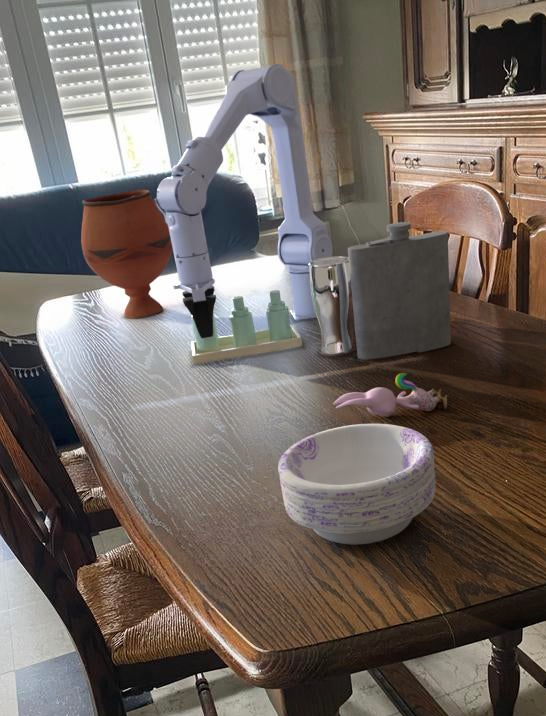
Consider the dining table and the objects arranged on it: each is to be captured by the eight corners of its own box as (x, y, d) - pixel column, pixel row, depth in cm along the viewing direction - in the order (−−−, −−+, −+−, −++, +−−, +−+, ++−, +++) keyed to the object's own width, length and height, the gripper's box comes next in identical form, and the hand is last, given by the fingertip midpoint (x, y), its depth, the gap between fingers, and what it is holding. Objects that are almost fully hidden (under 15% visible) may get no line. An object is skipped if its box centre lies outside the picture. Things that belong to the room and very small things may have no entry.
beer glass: (330, 361, 123) (320, 267, 115) (311, 352, 128) (300, 262, 121) (366, 350, 125) (359, 258, 118) (345, 342, 131) (337, 254, 123)
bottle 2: (290, 337, 136) (284, 287, 132) (294, 343, 133) (287, 292, 129) (269, 340, 136) (261, 290, 132) (271, 346, 133) (264, 295, 128)
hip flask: (446, 339, 125) (442, 213, 115) (455, 346, 122) (452, 216, 112) (355, 357, 123) (343, 230, 113) (362, 364, 119) (351, 233, 110)
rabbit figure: (433, 407, 104) (328, 410, 101) (438, 365, 101) (331, 367, 98) (449, 423, 98) (339, 426, 96) (455, 379, 96) (342, 381, 93)
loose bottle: (218, 342, 135) (209, 291, 130) (220, 348, 131) (210, 296, 127) (197, 345, 134) (187, 295, 130) (197, 351, 131) (187, 300, 127)
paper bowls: (285, 497, 83) (275, 431, 79) (421, 478, 83) (417, 412, 79) (290, 572, 70) (278, 498, 66) (452, 551, 70) (449, 475, 66)
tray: (295, 334, 139) (293, 324, 138) (302, 348, 131) (301, 337, 130) (192, 351, 138) (190, 341, 137) (194, 366, 129) (191, 355, 129)
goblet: (83, 326, 165) (51, 206, 153) (131, 302, 180) (105, 191, 168) (156, 325, 158) (128, 199, 146) (200, 300, 173) (178, 184, 161)
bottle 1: (255, 342, 136) (248, 293, 132) (258, 349, 132) (250, 298, 128) (234, 346, 136) (225, 296, 131) (235, 352, 132) (227, 301, 128)
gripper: (167, 250, 131) (183, 326, 138) (167, 265, 119) (184, 348, 125) (207, 244, 132) (221, 320, 138) (211, 258, 119) (226, 341, 126)
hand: (206, 333), depth 132 cm, fingers closed on loose bottle, 4 cm apart
